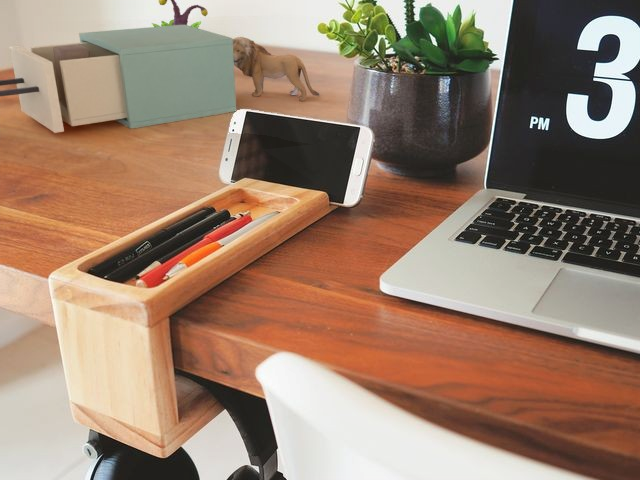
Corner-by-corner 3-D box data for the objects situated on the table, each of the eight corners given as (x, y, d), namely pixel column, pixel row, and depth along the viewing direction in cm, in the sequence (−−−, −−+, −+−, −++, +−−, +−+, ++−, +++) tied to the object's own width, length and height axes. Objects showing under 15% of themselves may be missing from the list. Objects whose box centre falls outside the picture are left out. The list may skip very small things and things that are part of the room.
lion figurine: (226, 97, 116) (223, 38, 112) (236, 89, 120) (233, 33, 116) (316, 102, 114) (316, 43, 110) (322, 94, 119) (322, 38, 115)
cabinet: (130, 129, 98) (120, 48, 93) (89, 106, 108) (78, 32, 103) (236, 111, 108) (232, 38, 103) (190, 92, 118) (184, 24, 113)
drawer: (-1, 141, 89) (-17, 69, 85) (-31, 117, 98) (-46, 51, 94) (166, 115, 102) (160, 51, 98) (127, 96, 111) (119, 36, 106)
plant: (122, 47, 151) (115, -10, 145) (214, 43, 158) (211, -12, 153) (138, 66, 135) (130, 2, 129) (240, 60, 142) (236, 0, 137)
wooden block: (68, 112, 97) (58, 51, 94) (61, 105, 100) (51, 46, 97) (98, 108, 99) (89, 48, 96) (91, 102, 102) (82, 44, 99)
